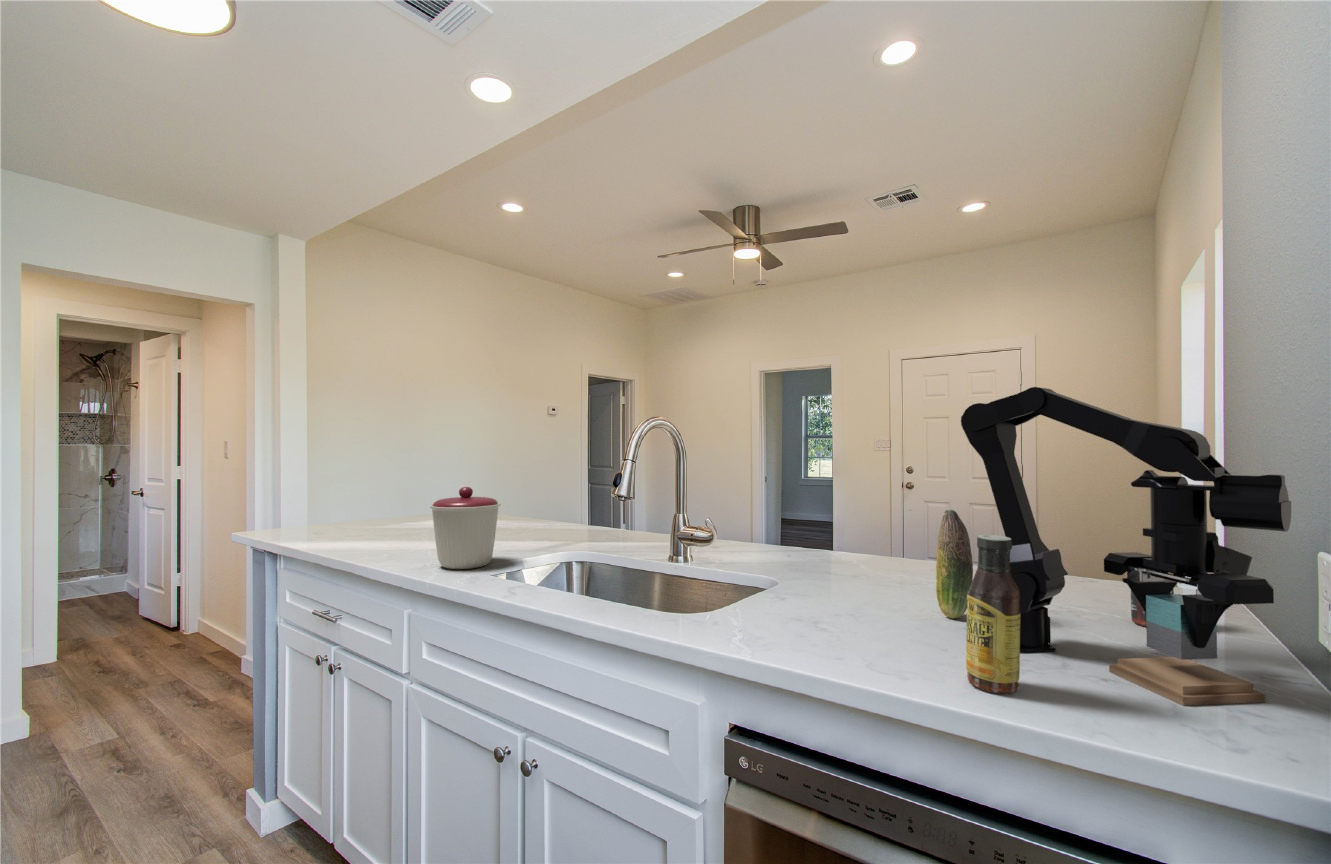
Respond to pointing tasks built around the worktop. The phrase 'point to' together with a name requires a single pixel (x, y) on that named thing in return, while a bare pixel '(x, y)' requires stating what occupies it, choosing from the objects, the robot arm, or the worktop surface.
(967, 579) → the vegetable
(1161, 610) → the teal and grey block
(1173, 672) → the walnut stand
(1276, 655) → the worktop surface
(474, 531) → the canister
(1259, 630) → the worktop surface
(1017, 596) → the sauce bottle
